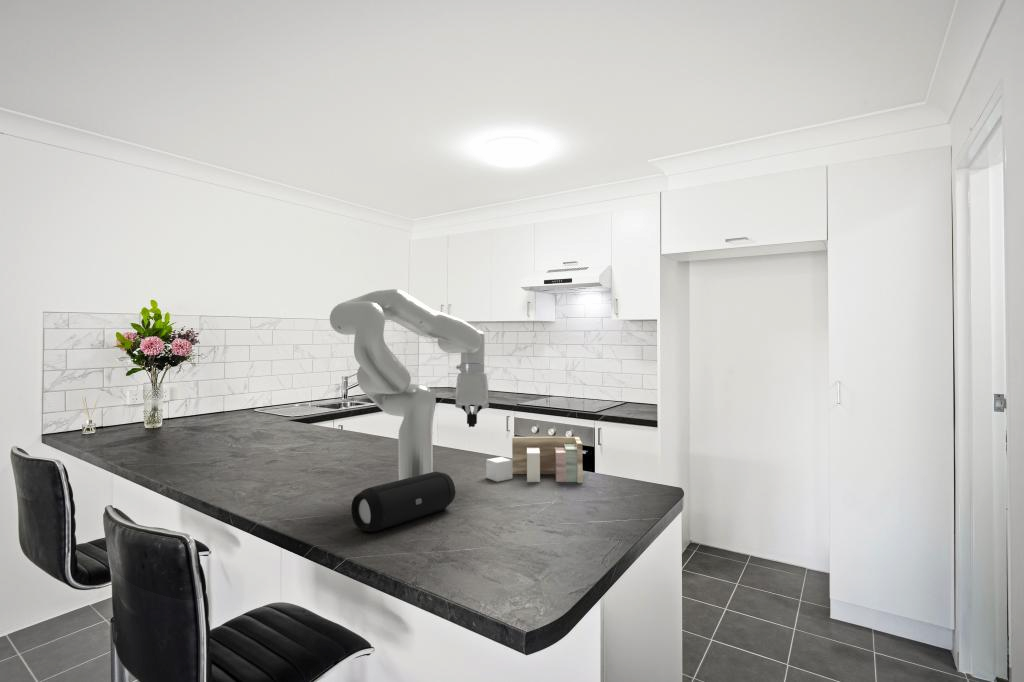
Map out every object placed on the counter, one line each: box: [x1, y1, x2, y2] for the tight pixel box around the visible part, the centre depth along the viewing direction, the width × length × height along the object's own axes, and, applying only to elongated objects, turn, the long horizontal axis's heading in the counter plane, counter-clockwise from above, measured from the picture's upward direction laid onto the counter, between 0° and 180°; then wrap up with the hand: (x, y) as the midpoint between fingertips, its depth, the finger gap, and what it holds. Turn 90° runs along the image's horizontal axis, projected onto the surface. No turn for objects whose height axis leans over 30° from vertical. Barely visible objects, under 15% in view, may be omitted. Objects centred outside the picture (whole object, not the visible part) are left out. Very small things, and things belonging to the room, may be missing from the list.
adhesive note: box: [485, 456, 513, 483], centre depth 170 cm, size 6×6×6 cm
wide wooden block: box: [511, 436, 584, 484], centre depth 170 cm, size 12×22×12 cm, turn 88°
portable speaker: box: [351, 471, 456, 533], centre depth 130 cm, size 26×10×10 cm, turn 139°
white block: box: [526, 447, 541, 483], centre depth 169 cm, size 9×4×9 cm, turn 178°
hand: (471, 426), depth 169 cm, fingers closed
